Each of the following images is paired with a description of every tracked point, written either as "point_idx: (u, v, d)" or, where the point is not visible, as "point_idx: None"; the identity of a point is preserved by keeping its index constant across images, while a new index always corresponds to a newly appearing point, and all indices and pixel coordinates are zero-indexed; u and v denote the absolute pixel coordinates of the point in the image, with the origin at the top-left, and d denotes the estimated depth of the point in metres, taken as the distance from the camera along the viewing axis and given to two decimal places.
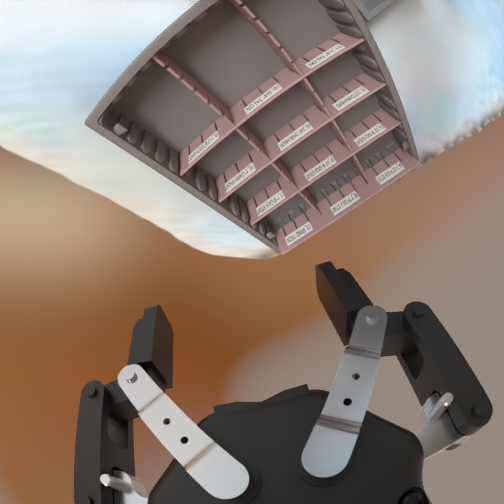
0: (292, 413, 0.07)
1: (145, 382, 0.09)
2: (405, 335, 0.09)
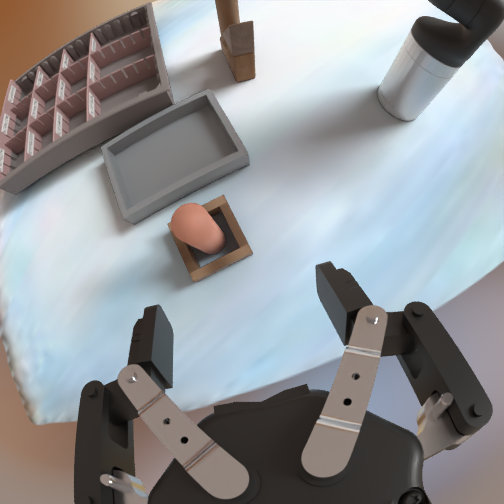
0: (292, 413, 0.07)
1: (145, 382, 0.09)
2: (405, 335, 0.09)
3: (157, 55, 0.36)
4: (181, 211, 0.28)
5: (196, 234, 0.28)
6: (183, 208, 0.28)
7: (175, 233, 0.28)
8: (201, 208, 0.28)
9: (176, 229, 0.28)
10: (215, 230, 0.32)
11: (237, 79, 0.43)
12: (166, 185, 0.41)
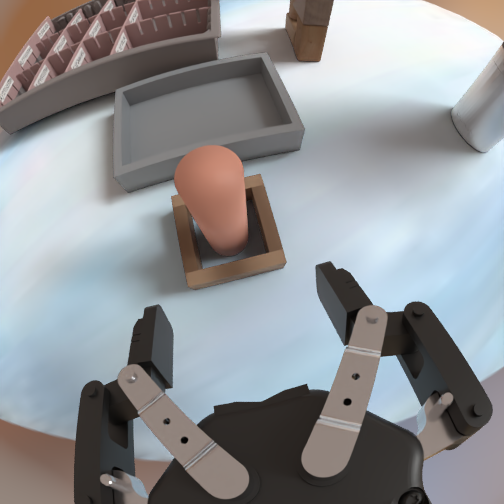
0: (292, 413, 0.07)
1: (145, 382, 0.09)
2: (405, 335, 0.09)
3: (213, 6, 0.28)
4: (198, 155, 0.16)
5: (214, 195, 0.15)
6: (203, 151, 0.16)
7: (178, 187, 0.15)
8: (234, 156, 0.16)
9: (182, 180, 0.15)
10: (244, 207, 0.19)
11: (299, 56, 0.33)
12: None
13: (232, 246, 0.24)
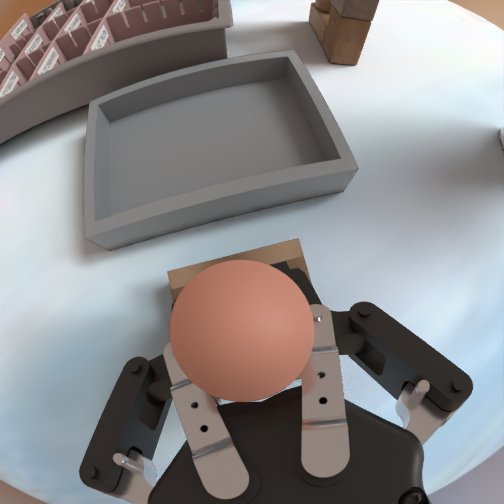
0: (292, 413, 0.07)
1: None
2: (350, 335, 0.10)
3: None
4: (216, 284, 0.08)
5: (257, 380, 0.07)
6: (226, 275, 0.08)
7: (181, 357, 0.07)
8: (293, 291, 0.08)
9: (186, 345, 0.07)
10: None
11: (332, 58, 0.25)
12: (182, 191, 0.21)
13: None
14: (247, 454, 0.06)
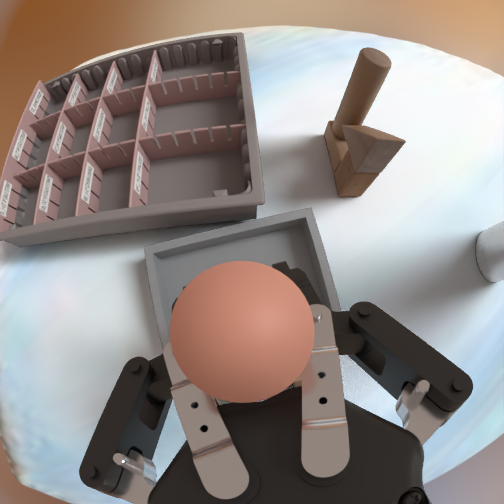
0: (292, 413, 0.07)
1: None
2: (350, 335, 0.10)
3: (249, 130, 0.30)
4: (216, 285, 0.08)
5: (257, 381, 0.07)
6: (226, 276, 0.08)
7: (181, 358, 0.07)
8: (293, 292, 0.08)
9: (187, 346, 0.07)
10: None
11: (341, 194, 0.36)
12: None
13: None
14: (247, 454, 0.06)
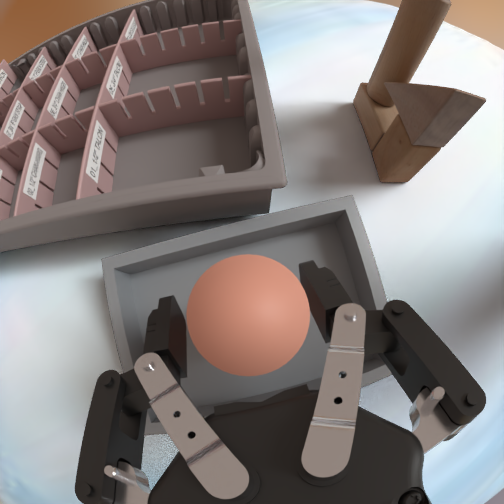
0: (292, 413, 0.07)
1: (163, 369, 0.09)
2: (384, 333, 0.10)
3: (257, 81, 0.19)
4: (227, 274, 0.09)
5: (262, 357, 0.09)
6: (235, 267, 0.09)
7: (196, 337, 0.09)
8: (291, 280, 0.09)
9: (201, 326, 0.09)
10: None
11: (384, 178, 0.24)
12: (230, 380, 0.20)
13: None
14: (239, 452, 0.07)
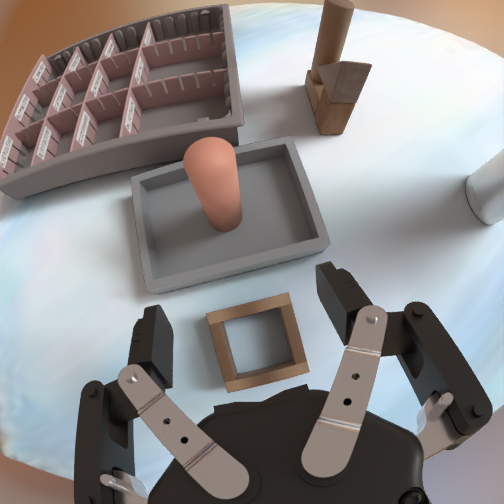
0: (292, 413, 0.07)
1: (145, 382, 0.09)
2: (405, 335, 0.09)
3: (230, 71, 0.30)
4: (201, 144, 0.21)
5: (213, 173, 0.20)
6: (205, 141, 0.21)
7: (186, 167, 0.20)
8: (228, 145, 0.21)
9: (189, 163, 0.20)
10: (236, 186, 0.24)
11: (322, 131, 0.36)
12: (211, 255, 0.32)
13: (228, 221, 0.29)
14: (234, 452, 0.07)
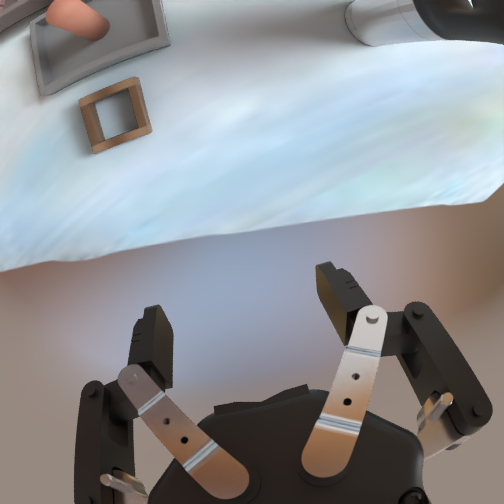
0: (292, 413, 0.07)
1: (145, 382, 0.09)
2: (405, 335, 0.09)
3: None
4: (57, 1, 0.14)
5: (62, 18, 0.15)
6: None
7: (47, 19, 0.15)
8: None
9: (48, 16, 0.15)
10: (86, 16, 0.18)
11: None
12: (85, 59, 0.28)
13: (92, 35, 0.24)
14: (234, 452, 0.07)
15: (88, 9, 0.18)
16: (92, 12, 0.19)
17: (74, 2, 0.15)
